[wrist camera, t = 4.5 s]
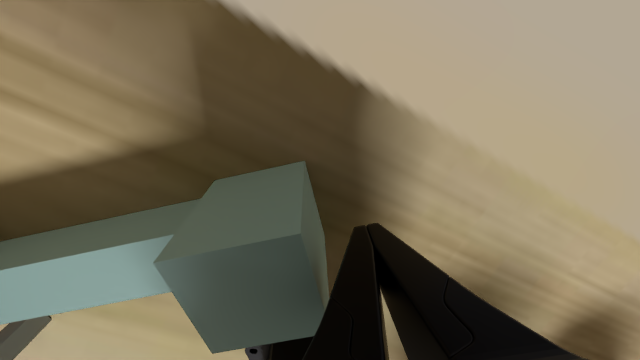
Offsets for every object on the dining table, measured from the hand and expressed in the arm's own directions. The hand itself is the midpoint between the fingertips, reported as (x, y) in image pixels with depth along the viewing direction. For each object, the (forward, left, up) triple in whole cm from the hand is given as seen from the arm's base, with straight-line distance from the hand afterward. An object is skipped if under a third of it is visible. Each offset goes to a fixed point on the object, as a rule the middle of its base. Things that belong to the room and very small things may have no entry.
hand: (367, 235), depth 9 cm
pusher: (0, +10, -3) cm, 10 cm away
